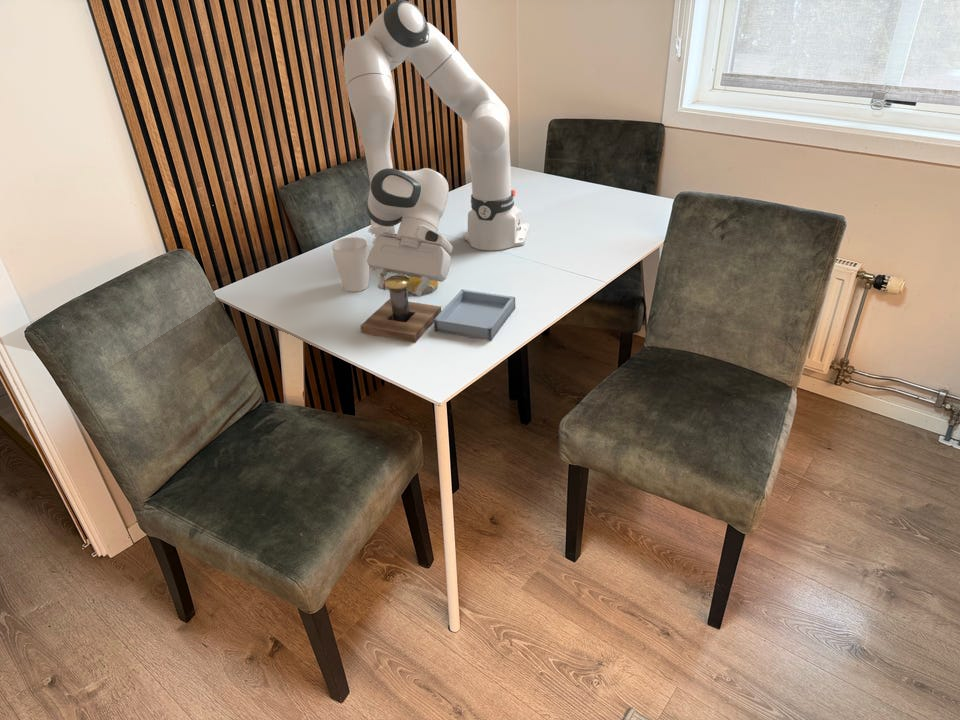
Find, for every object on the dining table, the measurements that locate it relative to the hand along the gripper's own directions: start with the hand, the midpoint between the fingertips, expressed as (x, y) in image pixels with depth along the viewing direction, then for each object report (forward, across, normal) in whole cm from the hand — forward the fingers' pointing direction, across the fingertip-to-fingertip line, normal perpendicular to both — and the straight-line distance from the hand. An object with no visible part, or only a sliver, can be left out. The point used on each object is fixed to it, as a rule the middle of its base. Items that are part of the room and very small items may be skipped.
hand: (398, 292), depth 154 cm
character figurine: (-16, -24, +28) cm, 40 cm away
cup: (-3, -21, +14) cm, 26 cm away
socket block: (+6, +1, +5) cm, 8 cm away
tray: (0, +16, +10) cm, 19 cm away
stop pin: (+6, +1, +5) cm, 8 cm away
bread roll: (-7, -4, +18) cm, 20 cm away
